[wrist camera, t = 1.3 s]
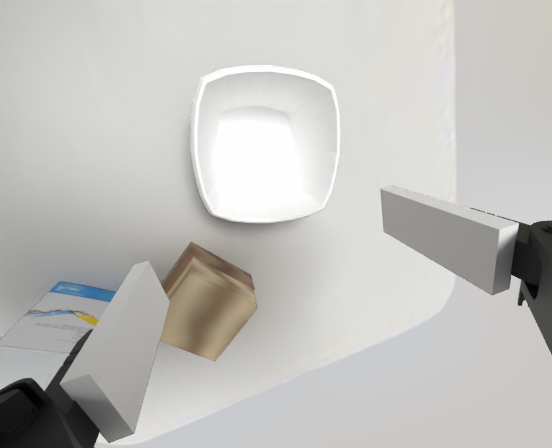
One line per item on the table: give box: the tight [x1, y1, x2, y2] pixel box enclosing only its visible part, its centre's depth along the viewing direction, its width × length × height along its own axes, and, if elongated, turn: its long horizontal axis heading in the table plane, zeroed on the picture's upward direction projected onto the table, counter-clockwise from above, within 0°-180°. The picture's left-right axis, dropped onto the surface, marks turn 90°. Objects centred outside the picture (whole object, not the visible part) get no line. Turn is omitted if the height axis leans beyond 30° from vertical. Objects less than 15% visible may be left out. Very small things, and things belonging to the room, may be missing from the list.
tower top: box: [159, 257, 258, 361], centre depth 35 cm, size 10×10×4 cm
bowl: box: [190, 65, 340, 223], centre depth 30 cm, size 15×15×11 cm
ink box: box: [0, 282, 116, 391], centre depth 32 cm, size 9×8×12 cm
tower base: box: [161, 242, 254, 294], centre depth 39 cm, size 11×11×4 cm
